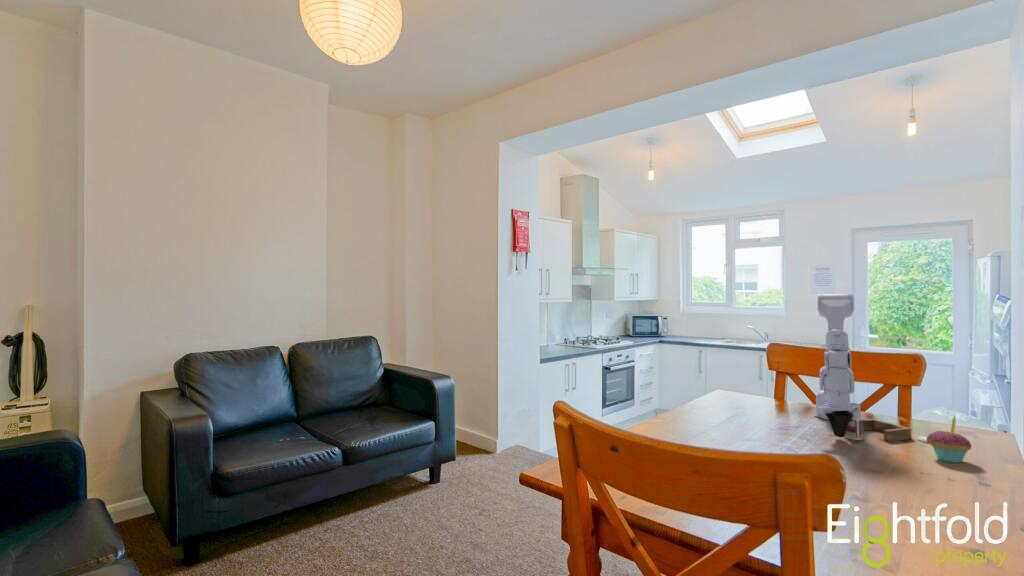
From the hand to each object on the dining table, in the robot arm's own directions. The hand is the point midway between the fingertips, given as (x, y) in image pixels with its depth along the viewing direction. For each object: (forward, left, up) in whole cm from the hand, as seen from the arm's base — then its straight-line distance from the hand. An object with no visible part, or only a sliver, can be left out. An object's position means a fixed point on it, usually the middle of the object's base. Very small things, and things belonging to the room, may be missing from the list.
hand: (839, 436), depth 140 cm
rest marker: (+9, +23, -1) cm, 25 cm away
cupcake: (+21, +11, -1) cm, 24 cm away
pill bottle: (0, +5, -1) cm, 6 cm away
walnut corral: (0, +15, -1) cm, 16 cm away
